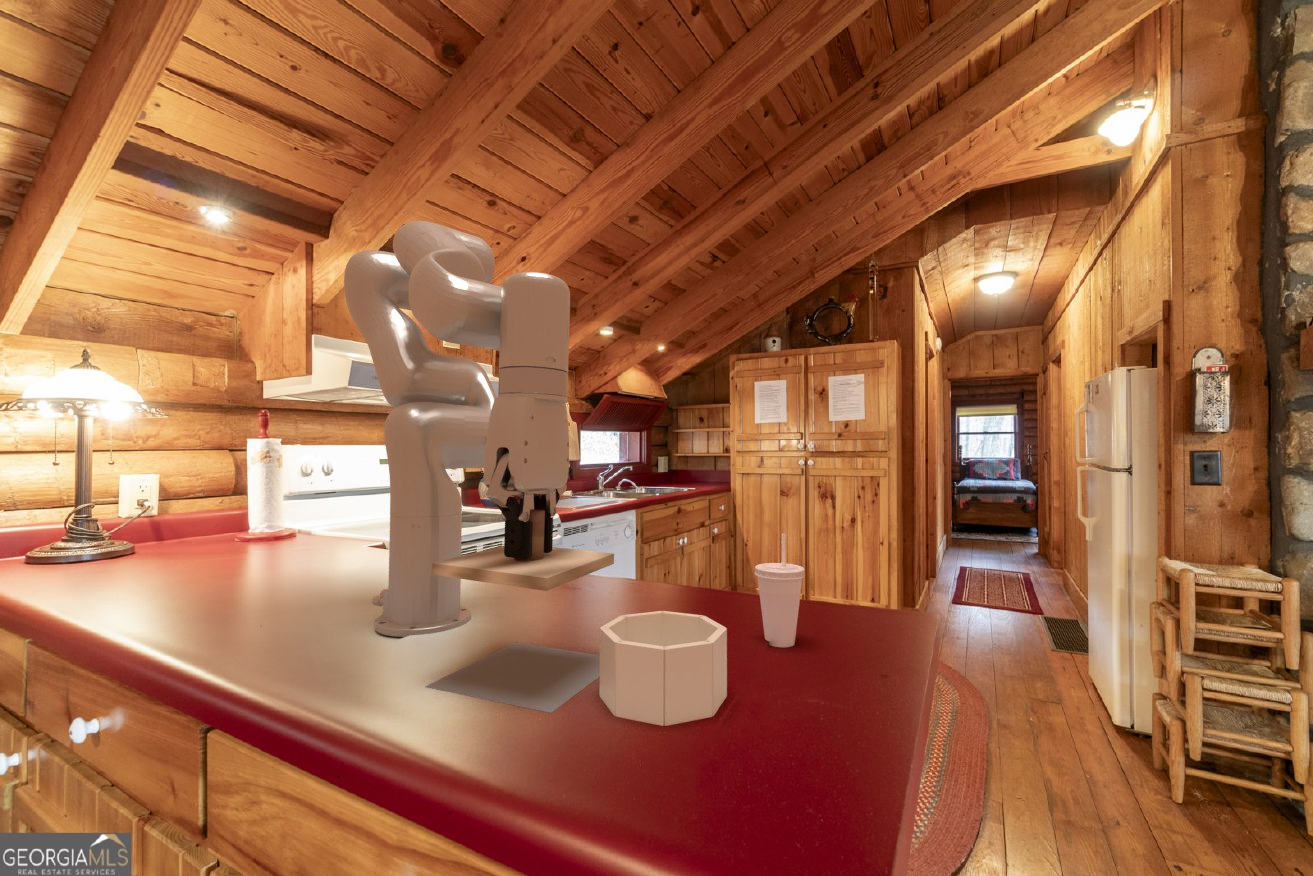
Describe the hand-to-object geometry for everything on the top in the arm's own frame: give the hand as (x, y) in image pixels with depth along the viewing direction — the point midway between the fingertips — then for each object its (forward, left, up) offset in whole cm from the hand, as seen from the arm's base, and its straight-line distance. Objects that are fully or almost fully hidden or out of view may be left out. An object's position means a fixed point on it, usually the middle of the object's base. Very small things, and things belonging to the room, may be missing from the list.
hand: (528, 552), depth 62 cm
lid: (0, 0, -2) cm, 2 cm away
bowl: (+16, 0, -13) cm, 21 cm away
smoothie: (+24, +22, -13) cm, 35 cm away
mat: (+1, 0, -13) cm, 13 cm away
